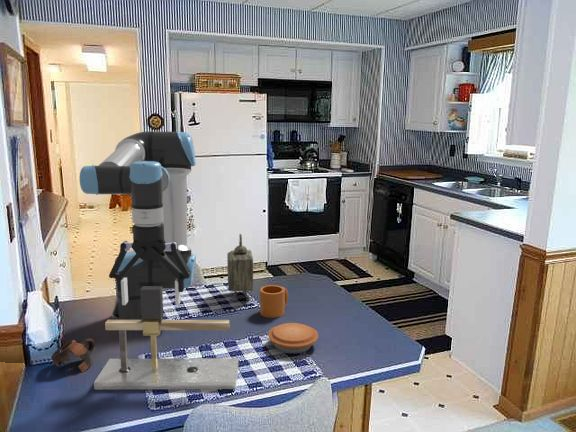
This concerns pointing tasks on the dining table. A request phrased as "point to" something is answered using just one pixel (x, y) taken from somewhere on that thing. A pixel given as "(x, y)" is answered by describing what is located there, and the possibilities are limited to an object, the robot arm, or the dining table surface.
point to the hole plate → (170, 374)
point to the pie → (293, 337)
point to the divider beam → (164, 325)
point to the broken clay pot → (75, 353)
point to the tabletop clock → (240, 269)
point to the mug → (273, 301)
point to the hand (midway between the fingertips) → (151, 303)
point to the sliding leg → (152, 316)
